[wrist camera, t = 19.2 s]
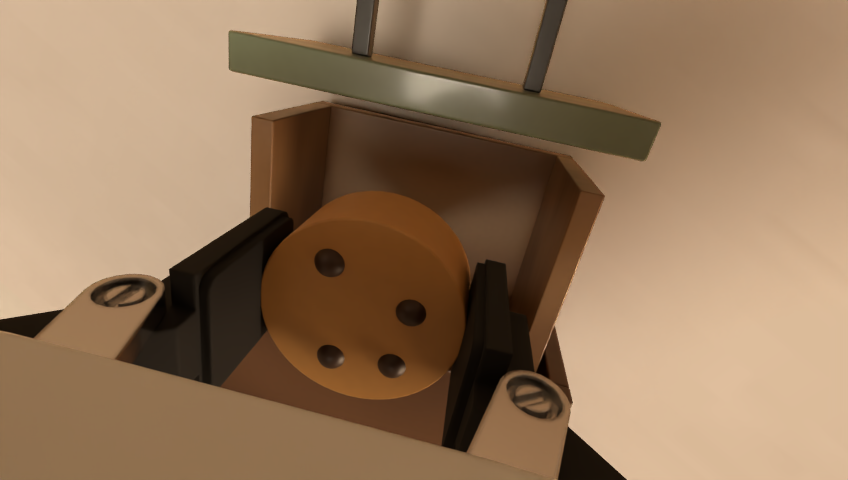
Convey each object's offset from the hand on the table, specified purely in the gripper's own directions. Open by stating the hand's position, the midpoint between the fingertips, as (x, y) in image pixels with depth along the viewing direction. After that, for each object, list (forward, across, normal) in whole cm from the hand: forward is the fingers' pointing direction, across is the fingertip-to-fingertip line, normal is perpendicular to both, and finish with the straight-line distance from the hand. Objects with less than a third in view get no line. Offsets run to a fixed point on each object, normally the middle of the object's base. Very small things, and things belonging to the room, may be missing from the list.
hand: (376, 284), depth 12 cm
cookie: (+1, 0, 0) cm, 1 cm away
